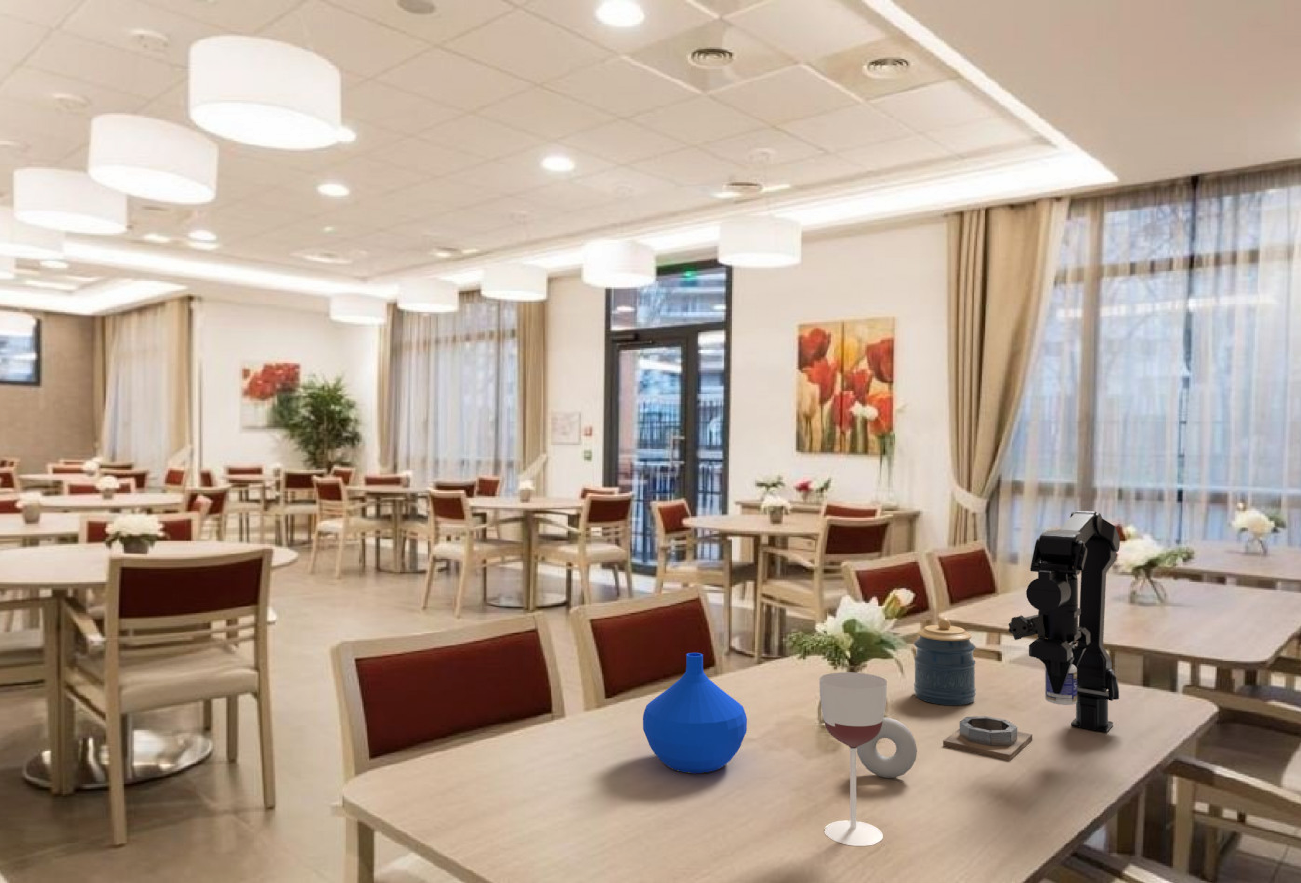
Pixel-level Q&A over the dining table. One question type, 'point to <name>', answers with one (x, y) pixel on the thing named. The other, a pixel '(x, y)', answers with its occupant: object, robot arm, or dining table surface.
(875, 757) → the donut
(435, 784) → the dining table surface
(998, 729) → the ring collar
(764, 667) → the dining table surface
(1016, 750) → the tan board
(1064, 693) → the pill bottle
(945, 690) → the canister
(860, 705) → the wineglass
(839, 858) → the dining table surface
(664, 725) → the vase
